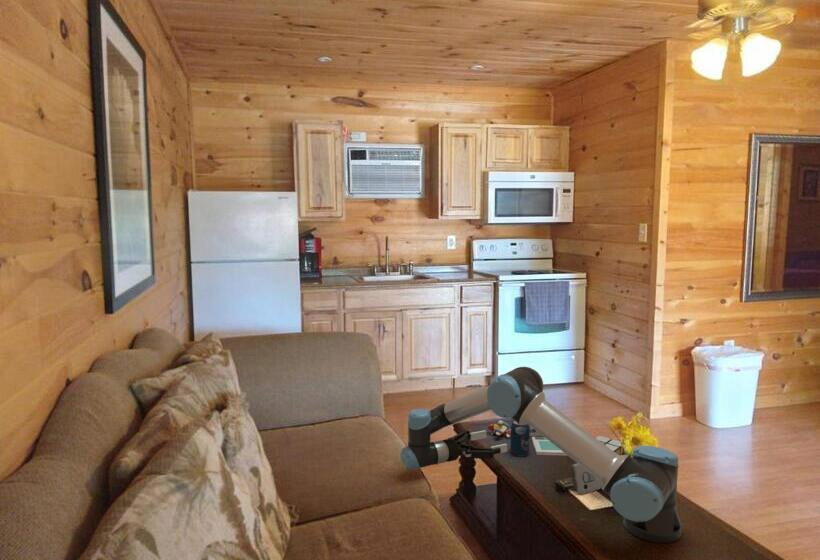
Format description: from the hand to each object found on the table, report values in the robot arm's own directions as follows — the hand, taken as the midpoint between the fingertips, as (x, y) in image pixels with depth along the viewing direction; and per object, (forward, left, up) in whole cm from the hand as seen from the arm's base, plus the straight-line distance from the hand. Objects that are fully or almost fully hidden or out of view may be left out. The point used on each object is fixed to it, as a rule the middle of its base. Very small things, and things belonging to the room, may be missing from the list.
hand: (495, 440), depth 206 cm
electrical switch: (-21, -27, -7) cm, 35 cm away
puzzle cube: (-7, -37, -7) cm, 39 cm away
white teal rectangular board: (+11, -25, -7) cm, 29 cm away
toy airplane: (+21, -4, -7) cm, 23 cm away
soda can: (+5, -9, -7) cm, 13 cm away
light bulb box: (+27, -17, -7) cm, 33 cm away
